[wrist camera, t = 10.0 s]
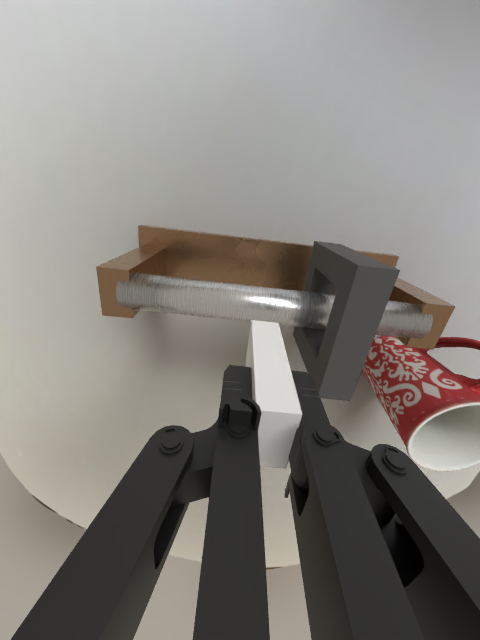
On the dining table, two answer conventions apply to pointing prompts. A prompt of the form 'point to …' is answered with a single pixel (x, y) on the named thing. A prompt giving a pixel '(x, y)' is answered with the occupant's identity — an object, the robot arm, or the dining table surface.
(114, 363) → the dining table surface
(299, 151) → the dining table surface
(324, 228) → the dining table surface
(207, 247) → the pipe rig
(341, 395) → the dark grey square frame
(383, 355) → the mug
